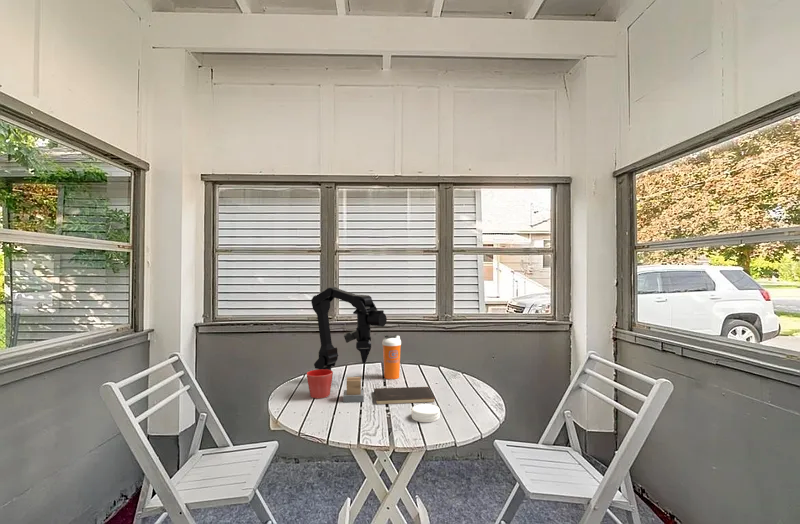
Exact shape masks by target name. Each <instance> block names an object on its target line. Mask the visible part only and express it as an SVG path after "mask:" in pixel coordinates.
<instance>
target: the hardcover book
mask: <svg viewBox="0 0 800 524" xmlns="http://www.w3.org/2000/svg"><path fill="white" fill-rule="evenodd" d="M373 390H374V391H373V393H374V396H375V401H376V405H387V404H388V405H391V404H415V403H416V404H417V403H419V404H423V403H434V402H435V399H436V397H435V396H434V393H432V390H431V389H430V387H429V386H410V387H409V386H408V387H407V386H406V387H404V386H403V387H381V388H379V387H378V388H376V387H375V388H373Z"/></svg>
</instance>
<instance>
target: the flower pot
mask: <svg viewBox="0 0 800 524" xmlns="http://www.w3.org/2000/svg"><path fill="white" fill-rule="evenodd" d="M333 375H334V371H333V370H332V369H331V370H327V369H313V370H308V371H307V372H306V380H307V385H308V389H309V396H310V397H311V398H312V399H315V400H316V399H317V400H318V399H325V398H328V397H330V395H331V388H332V382H333V379H332V377H333Z"/></svg>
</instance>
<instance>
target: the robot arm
mask: <svg viewBox="0 0 800 524" xmlns="http://www.w3.org/2000/svg"><path fill="white" fill-rule="evenodd" d="M335 299H337V300H340V301H343V302H346V303H348V304H350V305H351V306H352V307H353V308H355V310H354V311H352V314H354V315H356V321H357V322H356V329H355V330H353V331H348V332H346V333H345V334H344V335H343V338H344V341H345V343H349V342H352V341H354V340H356V344H355V345H356V346H355V347H356V350H358V352H359V353H360V358H361V362H362V364H366V363H367V359H368V357H369V354H370V352H371V348H372V335H371V327H382V328H383V327H384V326H386V324H387V320H388V319H387V315H386V314H385V312H384V310H383V309H380V310H379V309H378V308H377V306H376V305H375V302H374V301H373V298H372V297H371V296H370V295H368V294H355V293H353V292H350V291H346V290H343V289H340V288H338V287H337V286H334V287H327V288H326V289H325V290H323V291H322V292H319V293H318V294H317V295H313V297H312V298H311V303H310V304H311V306H312V309H313V310H312V311H314V312H315V314H316V316H317V324H318V334H319V341H320V348H319V350H318V359H317V360H316V361H315V362H314V363H313V366H314V369H315V370H319V369H327V370H331V371H332V367H335V366H336V363H337V361H338V359H339V358H338V357H339V354H338V347H335V345H333V342H332V335H331V327H330V320H329V311H330V309H331V303H332V301H334V300H335ZM332 380H333V376H332Z"/></svg>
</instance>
